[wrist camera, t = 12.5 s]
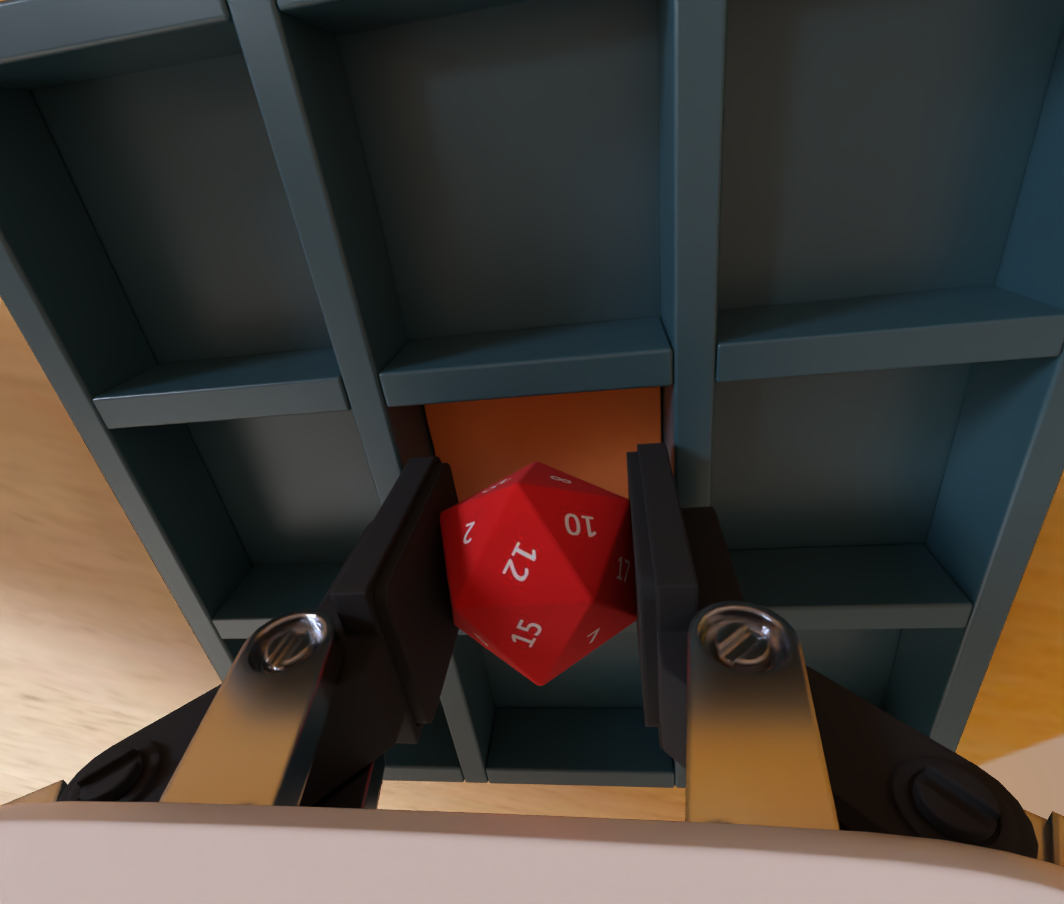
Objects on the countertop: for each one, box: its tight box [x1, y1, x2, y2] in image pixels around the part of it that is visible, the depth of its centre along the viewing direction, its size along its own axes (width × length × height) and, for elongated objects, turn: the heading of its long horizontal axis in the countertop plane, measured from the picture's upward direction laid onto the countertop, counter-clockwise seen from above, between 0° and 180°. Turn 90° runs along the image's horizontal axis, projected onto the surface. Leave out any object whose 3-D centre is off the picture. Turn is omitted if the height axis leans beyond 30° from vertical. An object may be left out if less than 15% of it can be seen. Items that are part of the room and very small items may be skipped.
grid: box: [0, 0, 1064, 788], centre depth 12 cm, size 18×18×2 cm
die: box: [440, 461, 637, 686], centre depth 10 cm, size 4×3×4 cm
